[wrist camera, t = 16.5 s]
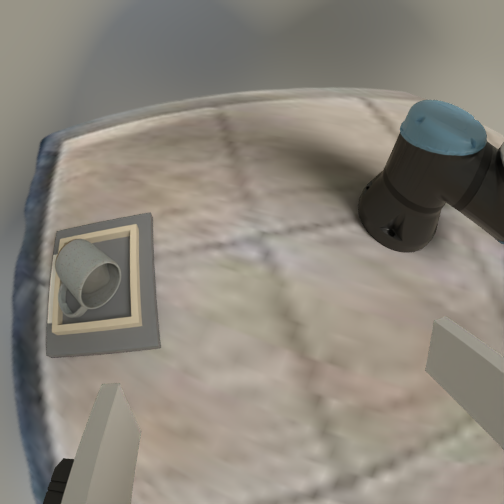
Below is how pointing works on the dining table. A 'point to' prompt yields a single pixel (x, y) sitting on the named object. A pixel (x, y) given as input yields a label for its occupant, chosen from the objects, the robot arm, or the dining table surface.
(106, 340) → the charcoal pocket board
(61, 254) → the ceramic mug
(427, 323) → the dining table surface
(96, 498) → the robot arm
